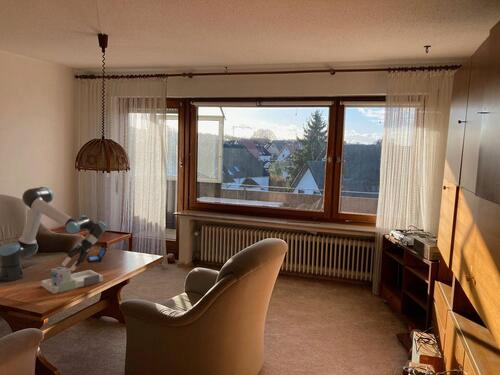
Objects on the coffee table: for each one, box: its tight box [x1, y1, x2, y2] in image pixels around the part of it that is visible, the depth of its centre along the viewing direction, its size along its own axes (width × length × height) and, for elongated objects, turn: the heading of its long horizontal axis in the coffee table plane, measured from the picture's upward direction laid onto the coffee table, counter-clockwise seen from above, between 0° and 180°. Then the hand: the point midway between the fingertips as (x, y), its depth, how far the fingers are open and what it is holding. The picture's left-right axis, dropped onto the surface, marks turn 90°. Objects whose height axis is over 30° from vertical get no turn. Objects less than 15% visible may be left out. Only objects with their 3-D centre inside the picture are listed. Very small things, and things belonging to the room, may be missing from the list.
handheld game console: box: [86, 245, 108, 263], centre depth 317 cm, size 16×13×9 cm
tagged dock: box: [41, 269, 104, 294], centre depth 261 cm, size 33×20×6 cm, turn 138°
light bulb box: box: [50, 266, 72, 286], centre depth 256 cm, size 11×7×11 cm, turn 69°
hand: (67, 267), depth 257 cm, fingers open, 13 cm apart
